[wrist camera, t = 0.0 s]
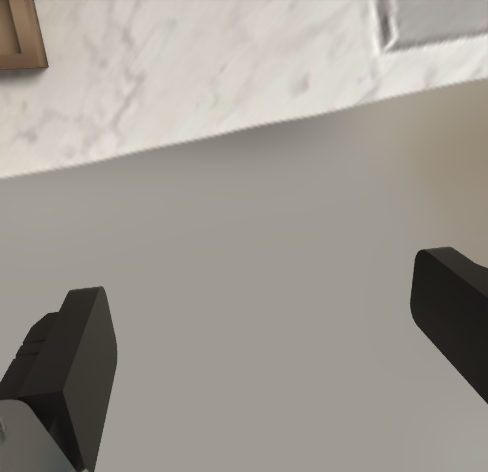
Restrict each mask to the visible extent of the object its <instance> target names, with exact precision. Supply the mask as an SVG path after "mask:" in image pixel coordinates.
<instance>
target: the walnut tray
mask: <svg viewBox="0 0 488 472" xmlns="http://www.w3.org/2000/svg"><path fill="white" fill-rule="evenodd" d="M38 67H49V66H48V62H47V57H46V53H45V48H44V44H43V39H42V35H41V30H40V26H39V21H38V17H37V12H36V8H35V3H34V0H0V70H6V69H22V68H38Z"/></svg>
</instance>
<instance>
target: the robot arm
mask: <svg viewBox="0 0 488 472" xmlns="http://www.w3.org/2000/svg"><path fill="white" fill-rule="evenodd" d="M410 308H411V313H412V317H413V319H414V321H415V323H416V324H417V326H418V327H419V328H420V329H421V330H422V331H423V332H424V334H425V335H426V336H427V337H428V338H429V339H430V340H431V341H432V343H433V344H434V345H435V346H436V347H437V348H438V349H439V350H440V351H441V352H442V354H443V355H444V356H445V357H446V358H447V359H448V360H449V361H450V362H451V364H452V365H453V366H454V367H455V368H456V369H457V370H458V371H459V373H460V374H461V375H462V376H463V377H464V378H465V379H466V380H467V382H468V383H469V384H470V385H471V386H472V387H473V388H474V389H475V390H476V392H477V393H478V394H479V395H480V396H481V397H482V398H483V399H484V400H485V402H487V404H488V268H486V267H483V266H480V265H478V264H476V263H474V262H473V261H471V260H470V259H468V258H467V257H465V256H464V255H462V254H461V253H459V252H458V251H456V250H455V249H454V248H452V247H440V248H432V249H423V250H420V251H419V252H418V253H417V255H416V258H415V264H414V272H413V281H412V290H411V299H410ZM116 365H117V343H116V337H115V333H114V328H113V324H112V319H111V314H110V310H109V305H108V301H107V296H106V292H105V290H104V288H103V287H102V286H101V287H93V288H84V289H76V290H70V291H69V292H68V294H67V296H66V298H65V300H64V302H63V304H62V307H61V308H60V310H59V312H54V313H48V314H46V315H45V316H44V317H43V318H42V319H41V320H39V321H38V322H37V323H36V324H35V325H33V327H31V329H30V331H29V333H28V334H27V336H26V338H25V340H24V341H23V345H22V346H21V347H20V349H19V350H18V352H17V354H16V359H13V361H12V363H11V365H10V366H9V368H8V370H7V371H6V373H5V375H4V377H3V379H2V381H1V382H0V472H94V470H95V465H96V461H97V456H98V451H99V446H100V442H101V437H102V432H103V427H104V423H105V418H106V413H107V408H108V404H109V399H110V394H111V389H112V385H113V380H114V375H115V370H116Z"/></svg>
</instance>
